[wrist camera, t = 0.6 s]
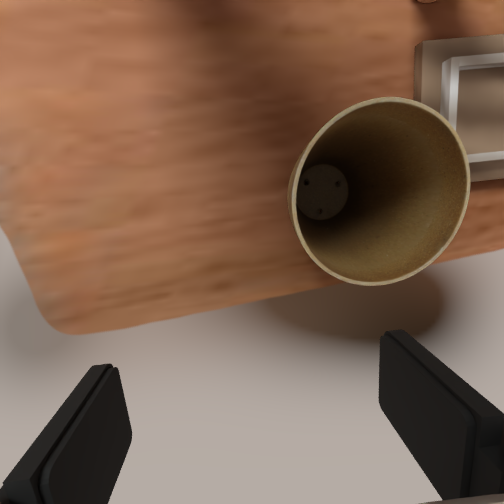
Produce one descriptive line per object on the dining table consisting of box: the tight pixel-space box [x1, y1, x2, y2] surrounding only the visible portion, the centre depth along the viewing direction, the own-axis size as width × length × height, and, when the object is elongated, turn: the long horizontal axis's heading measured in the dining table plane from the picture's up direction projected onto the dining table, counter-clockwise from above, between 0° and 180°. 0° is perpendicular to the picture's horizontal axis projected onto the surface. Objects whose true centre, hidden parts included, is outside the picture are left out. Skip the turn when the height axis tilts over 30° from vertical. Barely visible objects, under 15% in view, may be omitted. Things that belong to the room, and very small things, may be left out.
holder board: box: [414, 34, 504, 182], centre depth 36 cm, size 17×17×3 cm
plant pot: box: [287, 97, 470, 286], centre depth 31 cm, size 15×15×16 cm
